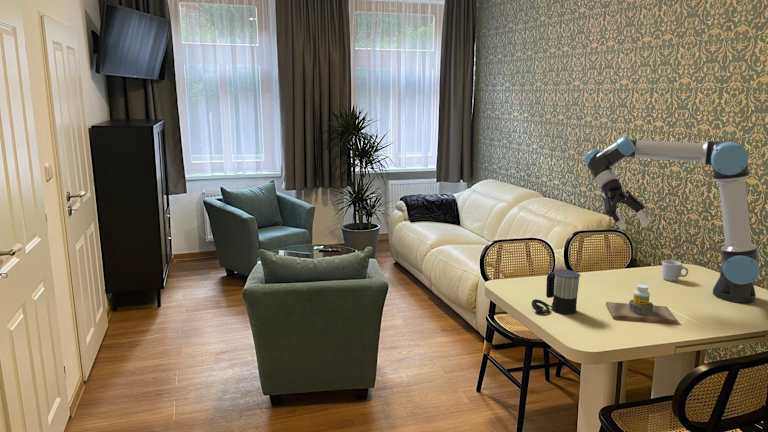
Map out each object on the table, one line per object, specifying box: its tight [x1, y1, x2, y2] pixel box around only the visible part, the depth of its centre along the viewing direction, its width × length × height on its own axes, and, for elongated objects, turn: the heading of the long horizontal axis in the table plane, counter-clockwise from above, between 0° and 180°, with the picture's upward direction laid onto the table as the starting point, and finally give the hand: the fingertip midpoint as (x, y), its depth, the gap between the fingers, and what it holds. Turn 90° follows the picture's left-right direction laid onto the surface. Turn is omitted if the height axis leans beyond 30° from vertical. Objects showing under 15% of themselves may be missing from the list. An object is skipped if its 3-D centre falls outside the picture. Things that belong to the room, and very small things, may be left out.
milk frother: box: [531, 269, 581, 315], centre depth 219 cm, size 14×16×15 cm
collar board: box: [605, 299, 679, 325], centre depth 218 cm, size 22×14×4 cm, turn 80°
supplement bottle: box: [632, 284, 651, 306], centre depth 217 cm, size 5×5×10 cm
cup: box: [661, 259, 689, 282], centre depth 259 cm, size 11×8×8 cm
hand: (635, 226), depth 229 cm, fingers open, 13 cm apart
